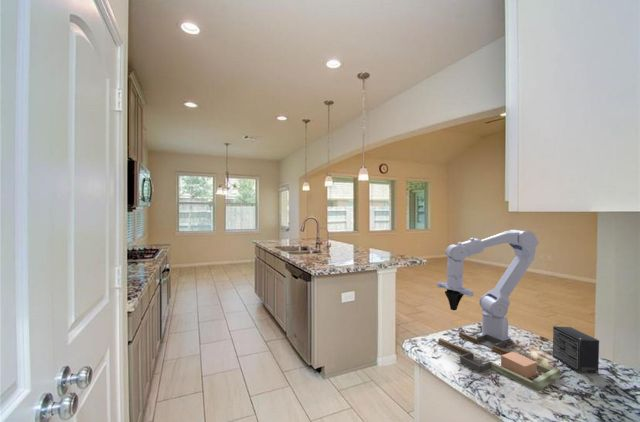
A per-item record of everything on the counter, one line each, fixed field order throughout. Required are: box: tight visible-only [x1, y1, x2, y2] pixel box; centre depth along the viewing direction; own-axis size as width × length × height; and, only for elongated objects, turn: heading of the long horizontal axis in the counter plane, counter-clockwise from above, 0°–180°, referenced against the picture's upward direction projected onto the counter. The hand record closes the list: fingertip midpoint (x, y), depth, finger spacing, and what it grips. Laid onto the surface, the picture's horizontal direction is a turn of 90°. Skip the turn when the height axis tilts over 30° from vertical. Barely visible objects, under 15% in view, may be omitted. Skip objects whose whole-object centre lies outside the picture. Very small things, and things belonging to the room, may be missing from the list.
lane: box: [438, 331, 561, 392], centre depth 95 cm, size 13×32×2 cm, turn 29°
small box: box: [552, 325, 600, 375], centre depth 92 cm, size 11×6×10 cm, turn 179°
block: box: [500, 351, 538, 379], centre depth 88 cm, size 6×7×4 cm
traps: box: [459, 334, 505, 374], centre depth 98 cm, size 25×13×2 cm, turn 119°
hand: (453, 309), depth 112 cm, fingers closed
